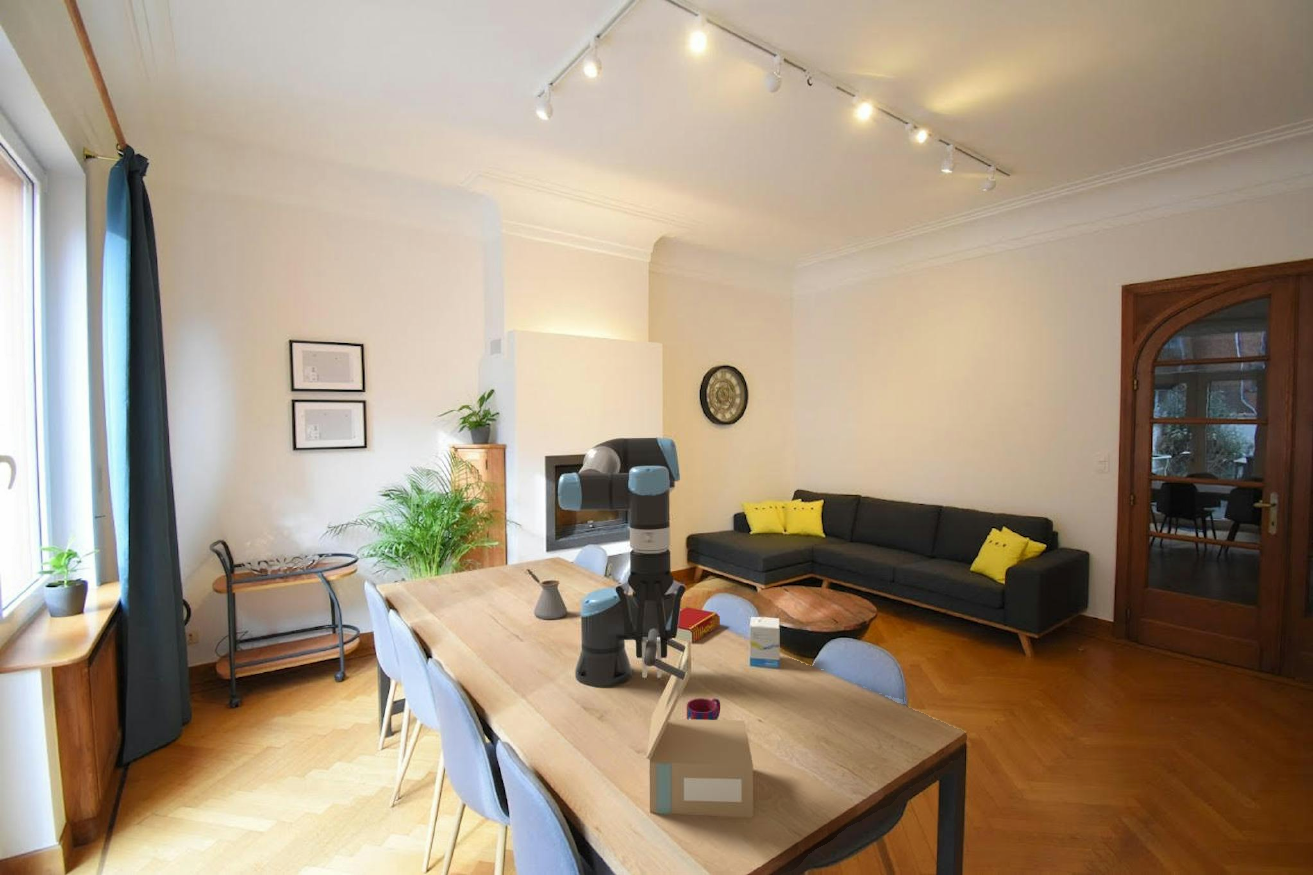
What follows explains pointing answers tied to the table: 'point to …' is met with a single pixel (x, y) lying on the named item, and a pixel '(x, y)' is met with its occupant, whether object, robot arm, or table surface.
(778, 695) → the table surface
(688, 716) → the mug
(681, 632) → the book
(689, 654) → the flap
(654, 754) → the carton
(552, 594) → the coffee pot
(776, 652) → the ink box
